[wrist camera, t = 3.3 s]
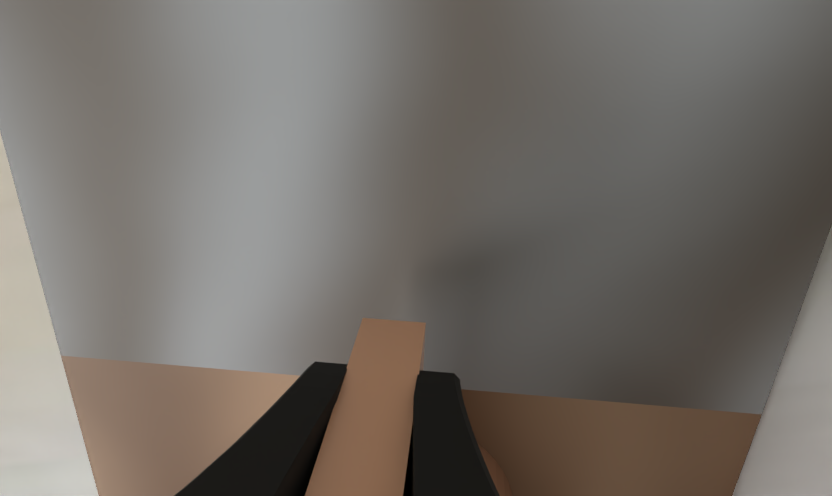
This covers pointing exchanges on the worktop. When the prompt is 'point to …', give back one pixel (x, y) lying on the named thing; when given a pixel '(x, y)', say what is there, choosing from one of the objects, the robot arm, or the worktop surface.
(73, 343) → the cradle
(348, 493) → the capsule with rectangular tab
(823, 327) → the worktop surface
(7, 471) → the worktop surface
